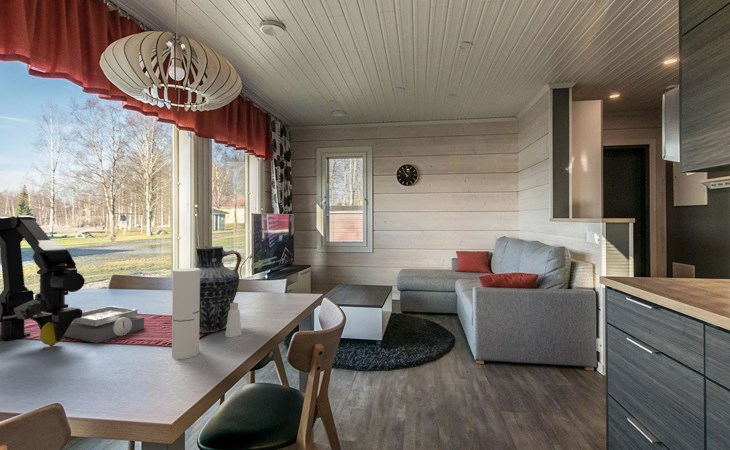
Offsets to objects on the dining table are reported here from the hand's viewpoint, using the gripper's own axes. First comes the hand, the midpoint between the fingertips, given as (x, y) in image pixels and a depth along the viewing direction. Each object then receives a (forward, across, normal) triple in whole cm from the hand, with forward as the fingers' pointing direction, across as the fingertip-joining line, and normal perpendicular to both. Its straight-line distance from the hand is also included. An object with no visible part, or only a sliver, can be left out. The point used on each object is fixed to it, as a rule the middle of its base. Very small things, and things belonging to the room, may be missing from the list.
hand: (52, 339), depth 107 cm
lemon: (+2, 0, 0) cm, 2 cm away
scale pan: (-3, 0, +15) cm, 15 cm away
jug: (+2, +31, +32) cm, 45 cm away
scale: (+2, 0, +15) cm, 15 cm away
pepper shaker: (+2, +43, +30) cm, 52 cm away
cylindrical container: (+2, +42, +11) cm, 43 cm away
